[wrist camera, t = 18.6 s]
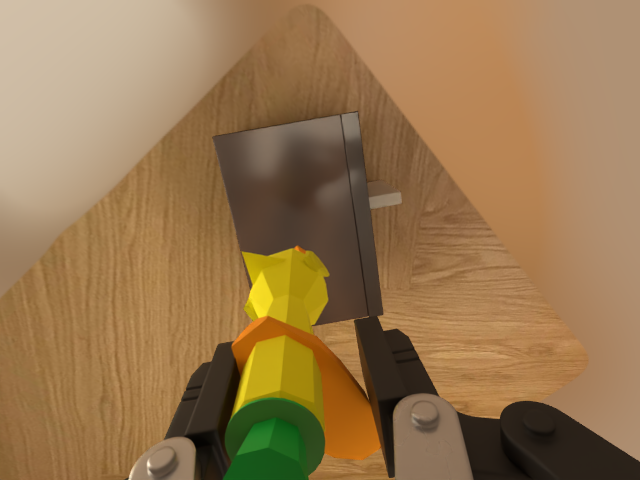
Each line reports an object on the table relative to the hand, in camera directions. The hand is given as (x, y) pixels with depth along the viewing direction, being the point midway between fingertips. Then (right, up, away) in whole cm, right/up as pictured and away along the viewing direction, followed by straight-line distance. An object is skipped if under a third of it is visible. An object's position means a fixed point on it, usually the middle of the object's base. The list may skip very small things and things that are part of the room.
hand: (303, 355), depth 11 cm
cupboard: (-2, +7, +26) cm, 27 cm away
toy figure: (0, +2, +7) cm, 7 cm away
